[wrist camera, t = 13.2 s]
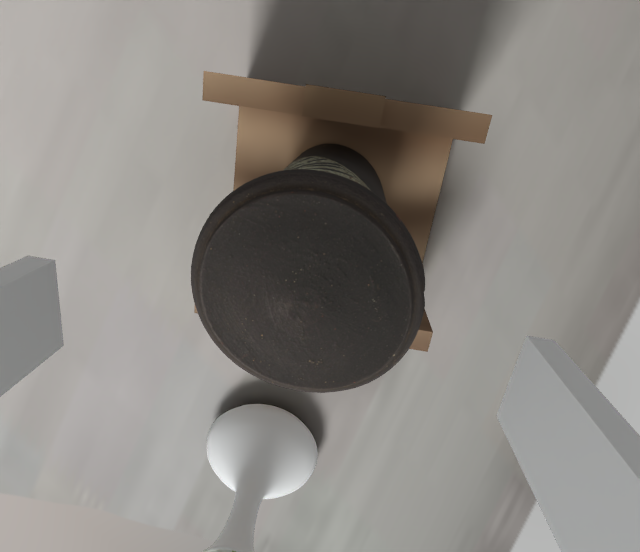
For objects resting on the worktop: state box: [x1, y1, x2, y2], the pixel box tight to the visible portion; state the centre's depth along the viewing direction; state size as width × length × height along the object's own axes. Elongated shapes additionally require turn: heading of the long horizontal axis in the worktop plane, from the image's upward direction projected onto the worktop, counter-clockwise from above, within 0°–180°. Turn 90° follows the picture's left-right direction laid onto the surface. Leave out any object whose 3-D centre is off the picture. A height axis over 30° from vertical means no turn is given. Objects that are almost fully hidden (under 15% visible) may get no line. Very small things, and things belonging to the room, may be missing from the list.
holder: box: [195, 71, 492, 352], centre depth 29 cm, size 15×16×12 cm
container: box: [191, 144, 425, 393], centre depth 24 cm, size 9×9×20 cm
